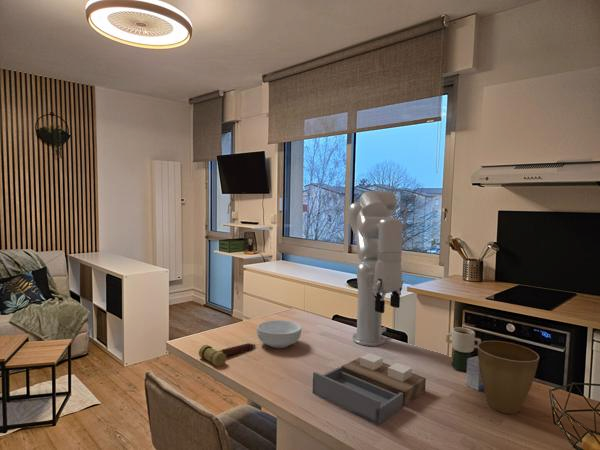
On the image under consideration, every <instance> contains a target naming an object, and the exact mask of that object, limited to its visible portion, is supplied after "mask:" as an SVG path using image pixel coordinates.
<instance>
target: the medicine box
mask: <svg viewBox="0 0 600 450" xmlns="http://www.w3.org/2000/svg"><path fill="white" fill-rule="evenodd" d="M465 379H466V381H465V385H466V386H467V387H469V388H471V389H473V390H475V391H477V392H480V390H481V391H483V390H484V387H483V383H482V379H481V373H480V367H479V360H478V355H475V356H471V358H468V359H467V370H466V377H465Z"/></svg>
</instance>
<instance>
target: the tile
mask: <svg viewBox="0 0 600 450" xmlns="http://www.w3.org/2000/svg"><path fill="white" fill-rule="evenodd" d="M412 371H413V368H412V367H410V366H408V365H404V364H401V363H399V362H396V363H394V364H392V365H391V366H390V367H388V376H390V377H392V378H395V379H397V380H400V381H405V380H406V379H408V378H410V377H411V376H412V373H413V372H412Z"/></svg>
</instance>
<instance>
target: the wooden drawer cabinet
mask: <svg viewBox="0 0 600 450" xmlns="http://www.w3.org/2000/svg"><path fill="white" fill-rule="evenodd" d="M390 366H392V365H391V364H387V363H385V362H383V364H382V366H381V367H379V368H377V369H375V370H371V369H369V368H366V367H364V366H361V365H360V357H357V358H356V359H354V360H352V361H349V362H347V363H345V364H343V365H341V366H340V368H341V371H342V372H344V373H347V374H349V375H352V376H354V377H356V378H359V379H361V380H364V381H366V382H369V383H371V384H373V385H376V386H378V387H381V388H383V389H385V390H388V391H390V392H393V393H395V394H399V393H400V392H401V393H403V407H405V406H407V405H408V404H410V403H411V402H412V401H414V400H415V399H417V398H418V397H419V396H421V395H422V394H424V393H425V392H426V383H427V382H426V380H427V379H426V377H423V376H420V375H418V374H415V373H413V372H412V376H411V377H410V378H408V379H406V380H405V381H400V380H397V379H395V378H392V377H390V376H388V367H390Z"/></svg>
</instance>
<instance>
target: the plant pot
mask: <svg viewBox="0 0 600 450" xmlns="http://www.w3.org/2000/svg"><path fill="white" fill-rule="evenodd" d="M476 345H477V348H476V349H477V356H478V360H479V367H480V373H481V379H482V383H483V387H484V394H485V398H486V400H487V403H488V405H489V407H490V408H491V409H493V410H494V411H496V412H499V413H502V414H507V413H508V415H514V414H517V413H519V411H520V410H521V408H522V406H523V404H524V403H525V401H526V398H527V396H528V394H529V393H530V390H531V388H532V386H533V385H532V384H533V382H534V380H535V377H536V373H537V368H538V364H539V360H540V355H539V354H538V353H537V352H536V351H534V350H532V349H531V348H528V347H526V346H523V345H520V344H516V343H512V342H508V341H500V340H484V341H481V342H480V343H479V344H478V343H477V344H476Z"/></svg>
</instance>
